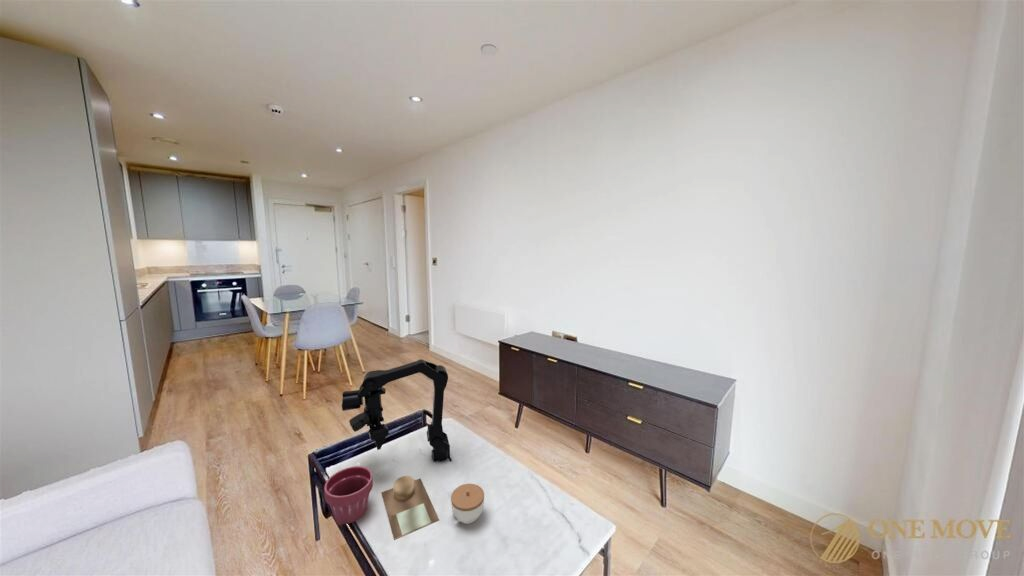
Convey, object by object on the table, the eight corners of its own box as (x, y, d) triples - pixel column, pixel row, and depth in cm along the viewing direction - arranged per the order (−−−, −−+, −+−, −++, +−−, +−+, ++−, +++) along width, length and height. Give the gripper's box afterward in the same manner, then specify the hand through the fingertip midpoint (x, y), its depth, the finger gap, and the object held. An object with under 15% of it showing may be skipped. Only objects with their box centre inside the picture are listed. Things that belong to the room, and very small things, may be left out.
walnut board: (420, 481, 126) (420, 478, 125) (439, 523, 107) (439, 520, 107) (381, 495, 118) (381, 492, 118) (394, 543, 100) (394, 540, 100)
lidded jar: (489, 508, 113) (489, 483, 112) (475, 534, 103) (475, 507, 102) (461, 500, 116) (460, 475, 115) (445, 524, 106) (444, 498, 105)
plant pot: (383, 508, 113) (381, 474, 111) (346, 541, 100) (343, 503, 99) (355, 493, 119) (353, 460, 118) (317, 522, 107) (314, 486, 105)
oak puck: (411, 483, 123) (411, 473, 122) (416, 495, 117) (416, 485, 116) (391, 490, 119) (391, 480, 119) (396, 503, 113) (395, 493, 113)
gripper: (346, 401, 130) (350, 438, 132) (353, 423, 114) (357, 464, 116) (377, 393, 135) (380, 429, 138) (387, 413, 120) (390, 453, 122)
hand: (376, 443), depth 128 cm, fingers open, 9 cm apart
